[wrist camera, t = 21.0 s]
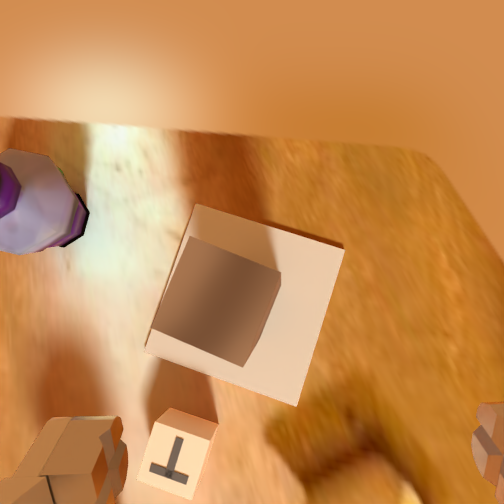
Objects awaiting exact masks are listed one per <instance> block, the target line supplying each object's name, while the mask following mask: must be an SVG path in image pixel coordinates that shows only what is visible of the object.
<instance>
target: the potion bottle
mask: <svg viewBox="0 0 504 504" xmlns="http://www.w3.org/2000/svg"><path fill="white" fill-rule="evenodd" d="M89 214H90V212H89V211H88V209H87V207H86V205H85V204H84V202H83V200H82V199H81V197H80V195H79V194H77V193H74V192H73V191H72V189H71V187H70V186H69V184H68V182H67V181H66V179H65V177H64V174H63V172H62V170H61V169H60V168H58V167H57V166H56V165H55V164H54V163H53V161H52V160H51V159H50V158H49V157H48V156H45V155H40V154H36V153H31V152H26V151H21V150H16V149H12V148H9V149H7V150H5V151H4V152H2V153H1V154H0V251H5V252H9V253H13V254H17V255H23V254H29V253H35V252H41V251H43V250H44V249H46V248H48V247H55V246H60V247H66V246H67V245H69V244H70V243H72V242H74V241H75V240H77V239H78V238H80V237H81V236H83V235H84V232H85V228H86V225H87V221H88V217H89Z"/></svg>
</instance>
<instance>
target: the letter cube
mask: <svg viewBox="0 0 504 504" xmlns="http://www.w3.org/2000/svg"><path fill="white" fill-rule="evenodd" d="M218 425H219V424H217V423H214V422H212V421H209V420H206V419H203V418H200V417H197V416H194V415H191V414H188V413H185V412H183V411H180V410H177V409H174V408H171V407H170V408H169V409H168V410H167V411H166V412H165V413H163V414H162V415H161V416H160V417H159V418H158V419H157V420H156V421H155V423H154V426H153V429H152V432H151V435H150V438H149V442H148V445H147V448H146V451H145V454H144V457H143V460H142V464H141V467H140V470H139V473H138V476H137V479H136V480H137V481H140V482H143V483H145V484H148V485H151V486H154V487H156V488H159V489H162V490H164V491H167V492H170V493H173V494H175V495H178V496H181V497H183V498H186V499H189V500H192V499H193V497H194V495H195V493H196V490H197V488H198V486H199V484H200V482H201V479H202V477H203V474H204V471H205V468H206V464H207V461H208V458H209V455H210V451H211V448H212V445H213V441H214V438H215V435H216V432H217V428H218Z"/></svg>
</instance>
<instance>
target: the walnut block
mask: <svg viewBox="0 0 504 504" xmlns="http://www.w3.org/2000/svg"><path fill="white" fill-rule="evenodd" d="M280 287H281V272H279V271H276V270H274V269H271V268H269V267H266V266H264V265H261V264H259V263H257V262H254V261H252V260H249V259H247V258H244V257H242V256H239V255H237V254H234V253H232V252H229V251H227V250H224V249H222V248H219V247H217V246H214V245H212V244H209V243H207V242H204V241H202V240H199V239H197V238H194V237H192V236H189V239H188V241H187V243H186V246H185V248H184V250H183V253H182V255H181V257H180V260H179V262H178V264H177V267H176V269H175V272H174V274H173V276H172V279H171V281H170V283H169V286H168V288H167V290H166V293H165V295H164V297H163V300H162V302H161V305H160V307H159V309H158V312H157V314H156V316H155V319H154V321H153V323H152V326H151V328H152V329H154V330H157V331H159V332H161V333H164V334H166V335H168V336H170V337H173V338H175V339H177V340H180V341H182V342H184V343H187V344H189V345H191V346H194V347H196V348H198V349H201V350H203V351H205V352H207V353H210V354H212V355H214V356H217V357H219V358H221V359H224V360H226V361H228V362H231V363H233V364H235V365H238V366H240V367H242V368H243V367H244V365H245V364H246V362H247V360H248V358H249V357H250V355H251V353H252V351H253V350H254V348H255V346H256V345H257V343H258V341H259V339H260V337H261V335H262V332H263V330H264V327H265V325H266V322H267V320H268V317H269V315H270V312H271V310H272V307H273V305H274V302H275V300H276V297H277V295H278V292H279V290H280Z"/></svg>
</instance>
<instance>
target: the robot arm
mask: <svg viewBox="0 0 504 504" xmlns="http://www.w3.org/2000/svg"><path fill="white" fill-rule="evenodd" d="M476 417H477V419H478V420H479V422H480V423H481V425H480V426H479V427H478V428H477V429H476V430H475V431H474V432H473V436H472V444H471V445H472V451H473V457H474V460H475V463H476V465H477V468H478V469H479V471H480V473H481V474H482V476H483V478H485V479H486V480H488V481H489V482H490V483H492V484H493V485H495V486H496V492H495V497H496V499H497V500H498V502H499V504H504V402H484V403H481V404H480V406H479V407H478V410H477V415H476ZM122 432H123V425H122V421H121V418H120V417H118V416H75V417H52V418H51V419H49V420H48V421H47V422H46V424H45V425H44V427H43V428H42V430H41V432H40V433H39V435H38V436H37V438H36V440H35V441H34V443H33V444H32V446H31V448H30V449H29V451H28V452H27V454H26V456H25V457H24V459H23V461H22V462H21V464H20V465H19V467H18V469H17V470H16V472H15V473H14V475H13V477H12V478H4V479H3V480H1V481H0V504H115V499H114V498H115V497H116V496H117V495H118V494H119V493H120V492H121V491H122V490H123V487H124V484H125V480H126V476H127V468H128V452H127V446H126V444H125V443H124V442H123V441H121V440H120V438H121V435H122Z"/></svg>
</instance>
